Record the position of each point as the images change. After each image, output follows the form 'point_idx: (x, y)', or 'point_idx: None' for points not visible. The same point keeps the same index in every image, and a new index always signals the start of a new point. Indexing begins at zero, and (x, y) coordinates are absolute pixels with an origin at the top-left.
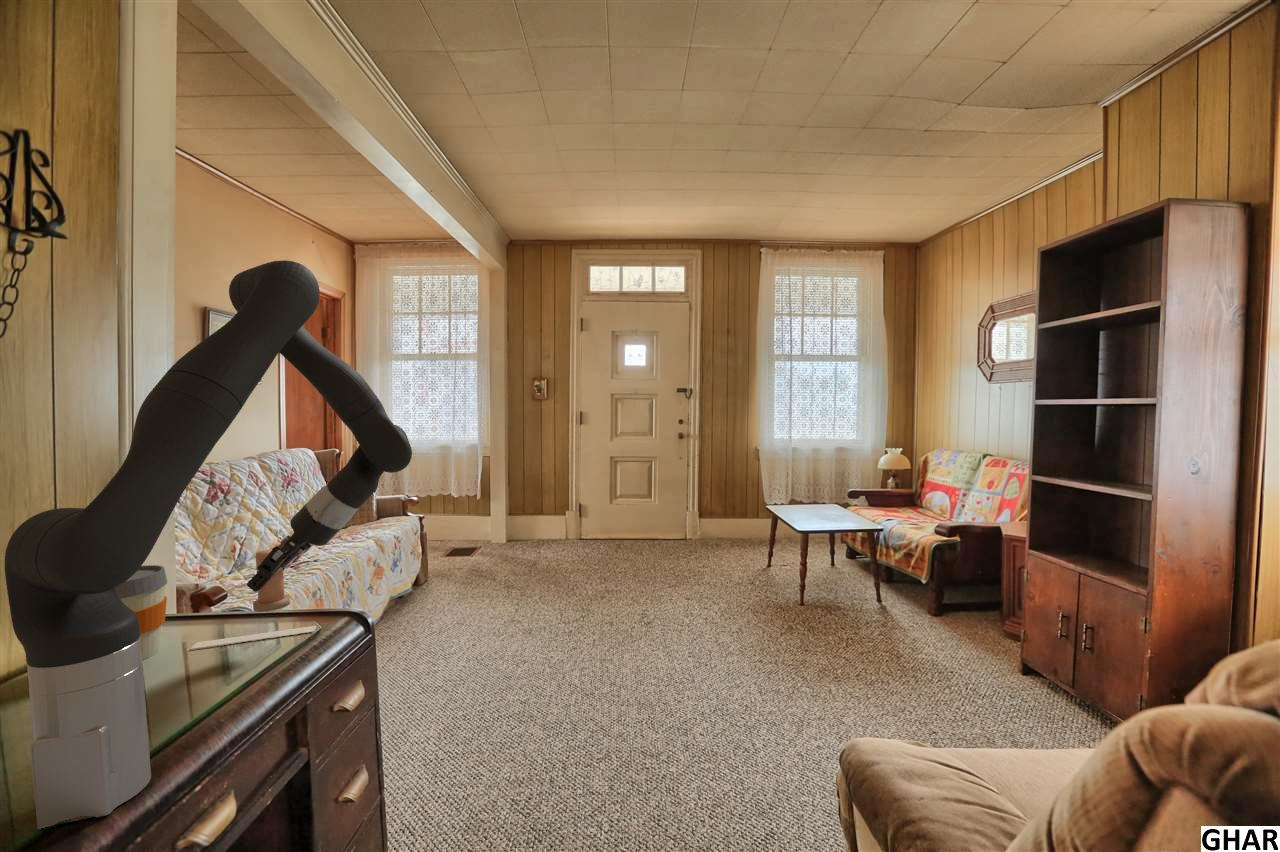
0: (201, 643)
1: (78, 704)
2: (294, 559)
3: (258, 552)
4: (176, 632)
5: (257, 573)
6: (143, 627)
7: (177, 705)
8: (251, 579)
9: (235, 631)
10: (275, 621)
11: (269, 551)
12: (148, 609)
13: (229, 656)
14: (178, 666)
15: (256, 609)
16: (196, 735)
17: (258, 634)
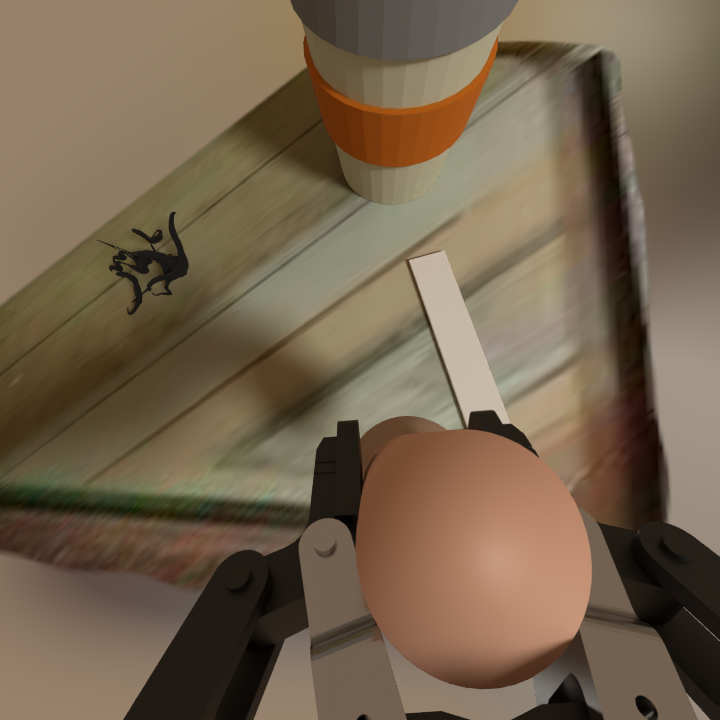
0: (437, 264)
1: None
2: (541, 699)
3: (455, 444)
4: (512, 164)
5: (336, 485)
6: (363, 150)
7: (150, 414)
8: (337, 445)
9: (514, 291)
10: (580, 354)
11: (485, 546)
12: (371, 115)
13: (367, 371)
14: (330, 293)
15: None
16: (15, 538)
17: (483, 368)
